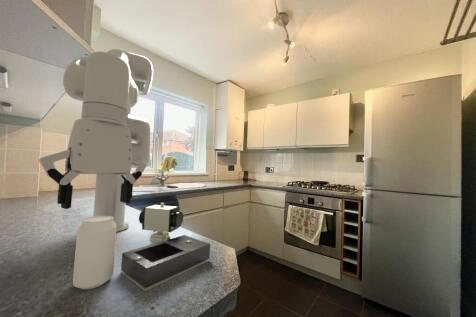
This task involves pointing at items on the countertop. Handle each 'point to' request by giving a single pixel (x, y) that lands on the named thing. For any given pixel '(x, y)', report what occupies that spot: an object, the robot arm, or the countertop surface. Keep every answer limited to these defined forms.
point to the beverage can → (94, 252)
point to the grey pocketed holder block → (163, 260)
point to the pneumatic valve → (160, 221)
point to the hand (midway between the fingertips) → (98, 204)
